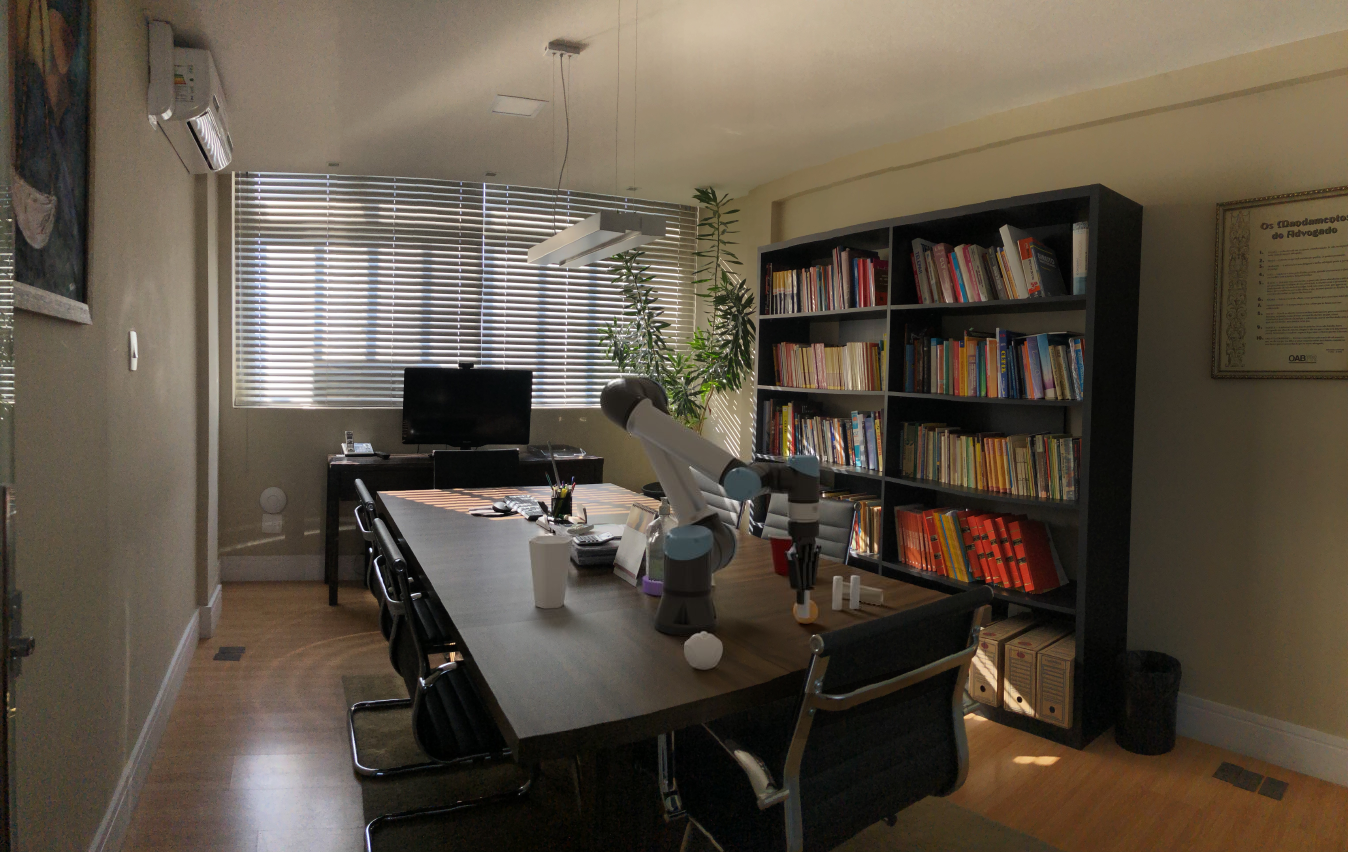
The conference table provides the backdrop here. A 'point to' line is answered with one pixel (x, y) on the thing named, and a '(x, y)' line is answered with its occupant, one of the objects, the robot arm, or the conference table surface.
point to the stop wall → (864, 594)
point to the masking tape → (652, 586)
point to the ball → (812, 613)
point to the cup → (550, 569)
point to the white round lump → (703, 650)
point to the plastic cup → (780, 551)
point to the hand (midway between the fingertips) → (803, 616)
